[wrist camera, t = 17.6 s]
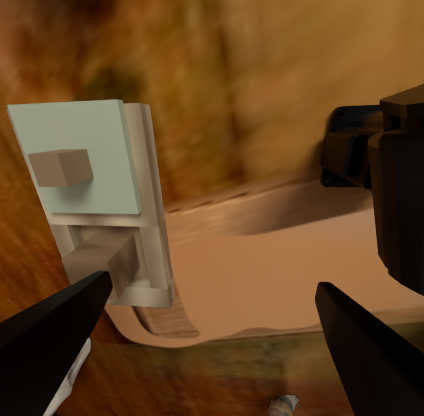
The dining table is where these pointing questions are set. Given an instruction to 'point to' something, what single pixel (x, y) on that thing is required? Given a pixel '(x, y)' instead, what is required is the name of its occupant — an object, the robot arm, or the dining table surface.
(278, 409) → the vase
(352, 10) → the dining table surface
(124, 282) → the block
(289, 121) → the dining table surface
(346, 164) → the robot arm
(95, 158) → the cover
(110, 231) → the puzzle board
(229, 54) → the dining table surface
